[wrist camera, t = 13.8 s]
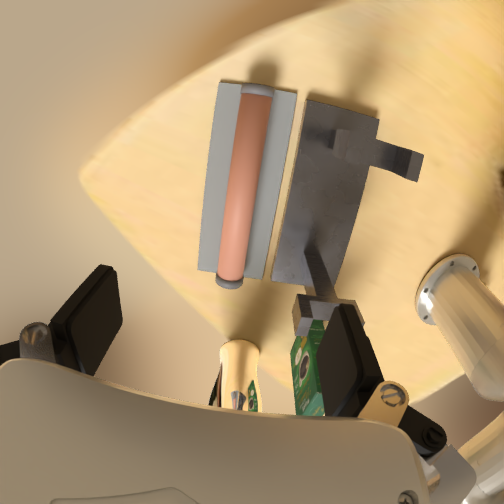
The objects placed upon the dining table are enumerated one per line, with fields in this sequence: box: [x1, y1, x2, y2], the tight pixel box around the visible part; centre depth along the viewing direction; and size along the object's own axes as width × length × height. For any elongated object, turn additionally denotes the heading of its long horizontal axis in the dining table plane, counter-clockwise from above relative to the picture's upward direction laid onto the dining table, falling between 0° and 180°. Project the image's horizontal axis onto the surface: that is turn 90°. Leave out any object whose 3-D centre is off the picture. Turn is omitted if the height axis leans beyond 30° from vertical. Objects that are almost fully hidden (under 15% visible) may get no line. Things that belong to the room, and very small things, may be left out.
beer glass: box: [208, 340, 262, 412], centre depth 35 cm, size 7×7×15 cm
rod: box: [216, 83, 275, 289], centre depth 29 cm, size 22×3×3 cm, turn 171°
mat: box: [198, 82, 297, 280], centre depth 30 cm, size 8×22×1 cm, turn 171°
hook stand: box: [271, 100, 424, 337], centre depth 25 cm, size 8×21×13 cm, turn 171°
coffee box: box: [290, 319, 325, 416], centre depth 34 cm, size 8×3×13 cm, turn 170°
